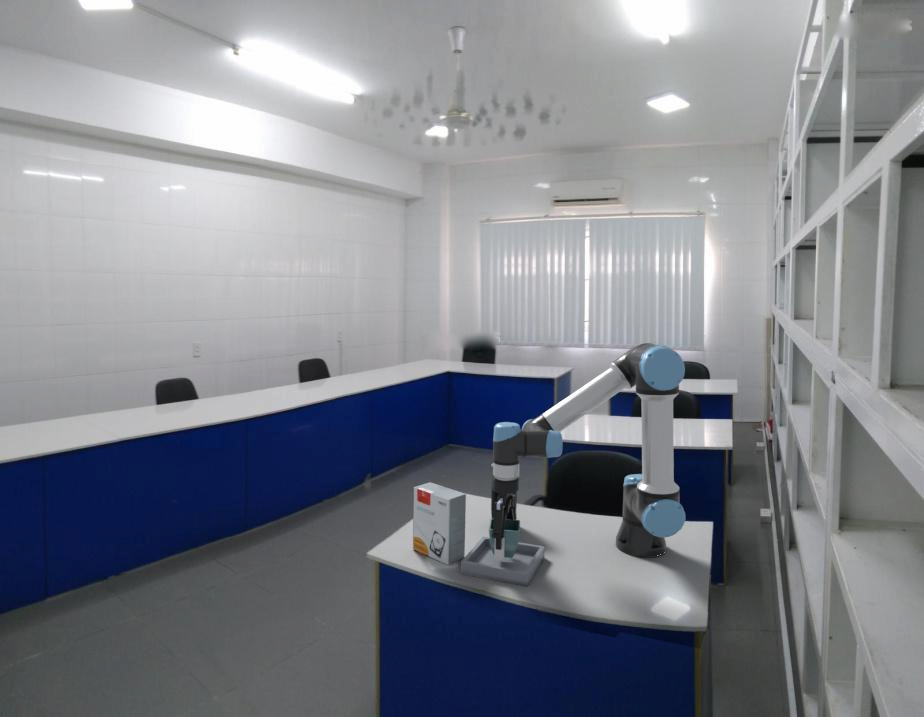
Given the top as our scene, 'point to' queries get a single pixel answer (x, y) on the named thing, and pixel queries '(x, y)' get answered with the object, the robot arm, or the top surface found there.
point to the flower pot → (507, 537)
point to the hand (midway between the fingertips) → (504, 552)
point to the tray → (503, 563)
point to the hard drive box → (439, 522)
